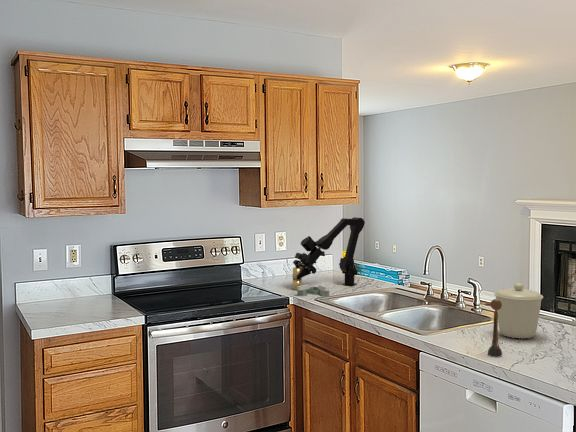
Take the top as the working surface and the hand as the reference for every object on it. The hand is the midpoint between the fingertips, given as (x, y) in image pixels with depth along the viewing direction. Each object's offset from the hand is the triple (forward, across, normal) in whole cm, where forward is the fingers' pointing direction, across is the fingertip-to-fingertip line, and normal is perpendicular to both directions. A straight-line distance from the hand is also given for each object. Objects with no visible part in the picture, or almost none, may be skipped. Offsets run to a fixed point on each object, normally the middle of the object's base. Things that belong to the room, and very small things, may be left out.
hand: (294, 278), depth 335 cm
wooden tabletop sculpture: (-1, +139, +11) cm, 139 cm away
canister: (-20, +124, +30) cm, 129 cm away
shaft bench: (+2, +16, +7) cm, 18 cm away
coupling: (+4, 0, +6) cm, 7 cm away
